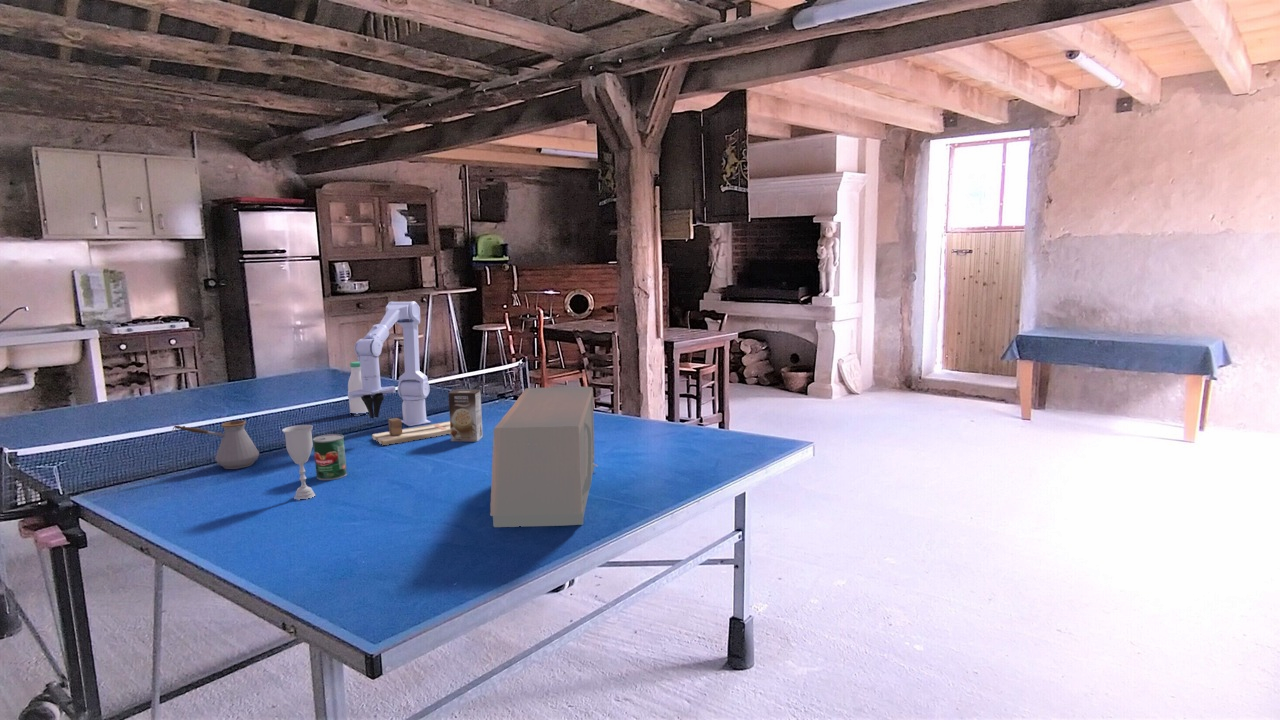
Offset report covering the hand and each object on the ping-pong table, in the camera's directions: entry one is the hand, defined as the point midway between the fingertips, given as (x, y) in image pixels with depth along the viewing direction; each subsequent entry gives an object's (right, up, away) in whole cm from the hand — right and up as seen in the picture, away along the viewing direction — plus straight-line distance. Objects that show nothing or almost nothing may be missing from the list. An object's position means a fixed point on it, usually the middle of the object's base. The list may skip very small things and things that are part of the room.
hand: (374, 417), depth 240 cm
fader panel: (+12, -7, +10) cm, 17 cm away
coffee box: (+29, -8, +3) cm, 30 cm away
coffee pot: (-36, -14, -23) cm, 45 cm away
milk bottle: (-21, -2, +45) cm, 49 cm away
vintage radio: (+64, -16, -55) cm, 85 cm away
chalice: (0, -17, -50) cm, 53 cm away
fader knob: (+5, -6, +5) cm, 9 cm away
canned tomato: (0, -14, -33) cm, 36 cm away
